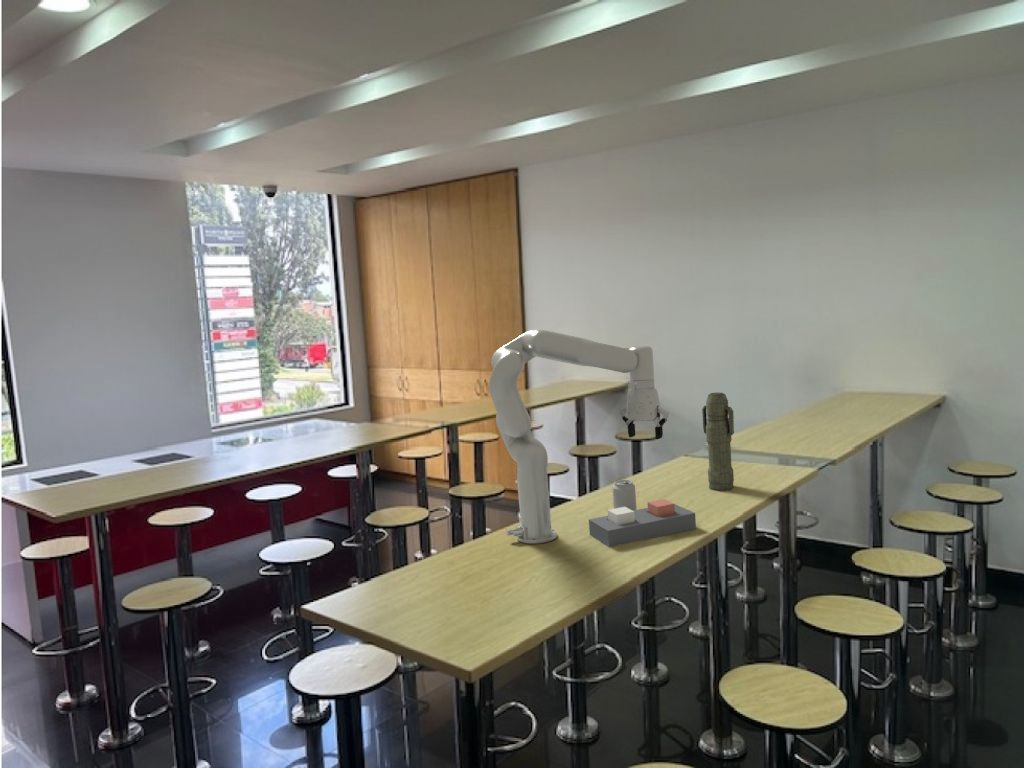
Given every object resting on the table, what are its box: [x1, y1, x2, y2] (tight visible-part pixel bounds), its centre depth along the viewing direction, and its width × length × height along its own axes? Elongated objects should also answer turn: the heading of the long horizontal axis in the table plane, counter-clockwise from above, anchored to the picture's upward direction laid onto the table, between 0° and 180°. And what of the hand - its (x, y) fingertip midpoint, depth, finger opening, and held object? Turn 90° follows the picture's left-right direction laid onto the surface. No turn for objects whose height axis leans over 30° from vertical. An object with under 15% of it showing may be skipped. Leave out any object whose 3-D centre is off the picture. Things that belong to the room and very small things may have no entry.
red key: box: [647, 498, 675, 517], centre depth 224 cm, size 6×6×4 cm
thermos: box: [701, 392, 735, 492], centre depth 262 cm, size 9×12×35 cm
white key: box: [607, 507, 635, 525], centre depth 220 cm, size 6×6×4 cm
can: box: [611, 479, 638, 511], centre depth 239 cm, size 8×8×12 cm
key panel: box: [588, 503, 697, 548], centre depth 223 cm, size 30×13×5 cm, turn 109°
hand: (645, 437), depth 231 cm, fingers open, 9 cm apart
